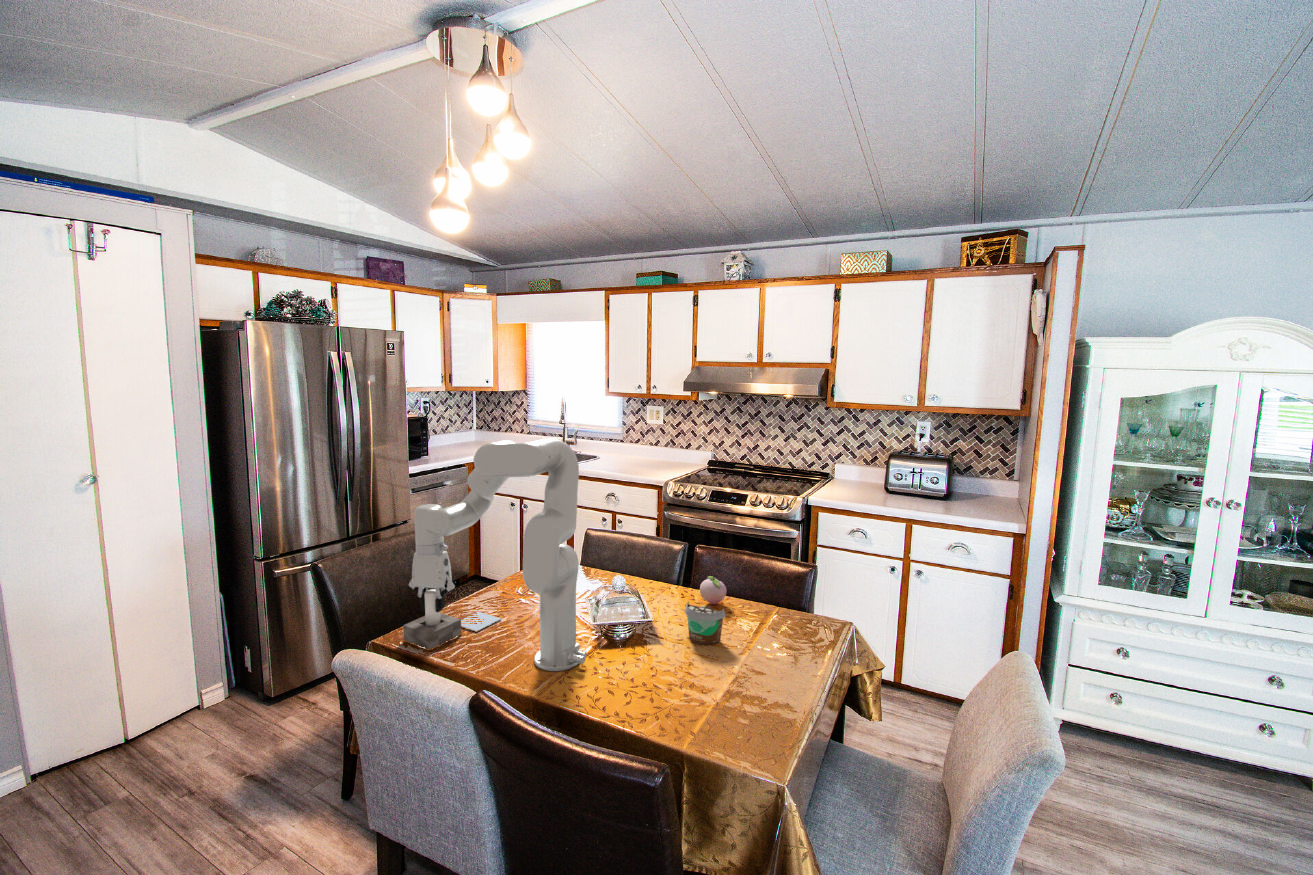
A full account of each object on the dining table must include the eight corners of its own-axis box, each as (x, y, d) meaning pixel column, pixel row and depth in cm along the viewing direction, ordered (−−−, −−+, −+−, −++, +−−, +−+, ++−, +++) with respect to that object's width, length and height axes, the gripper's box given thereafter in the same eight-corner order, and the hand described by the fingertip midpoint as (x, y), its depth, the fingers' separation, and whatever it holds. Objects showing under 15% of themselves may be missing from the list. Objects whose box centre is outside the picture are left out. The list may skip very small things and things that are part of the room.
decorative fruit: (694, 602, 189) (694, 573, 188) (714, 597, 193) (714, 570, 192) (709, 612, 181) (710, 582, 180) (730, 607, 185) (730, 578, 184)
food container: (677, 641, 161) (677, 608, 160) (686, 633, 166) (686, 601, 165) (717, 651, 155) (717, 617, 154) (724, 642, 160) (725, 609, 159)
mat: (501, 620, 173) (501, 618, 173) (476, 632, 165) (476, 630, 165) (478, 613, 178) (478, 611, 178) (453, 625, 170) (453, 623, 170)
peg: (443, 625, 162) (442, 589, 161) (435, 632, 158) (434, 594, 157) (431, 624, 163) (429, 588, 162) (423, 630, 159) (421, 593, 158)
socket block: (461, 635, 163) (460, 619, 162) (429, 651, 153) (429, 634, 153) (436, 627, 168) (435, 611, 168) (404, 641, 159) (403, 625, 158)
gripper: (464, 545, 160) (466, 606, 162) (411, 542, 163) (414, 602, 165) (450, 553, 153) (452, 617, 155) (395, 550, 156) (398, 612, 158)
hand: (432, 609), depth 160 cm, fingers closed on peg, 4 cm apart
